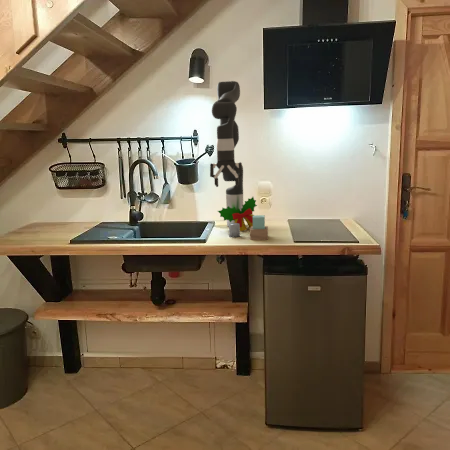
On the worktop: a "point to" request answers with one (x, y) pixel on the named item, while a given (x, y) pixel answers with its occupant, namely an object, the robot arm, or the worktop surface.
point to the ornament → (240, 214)
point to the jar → (234, 230)
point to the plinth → (259, 233)
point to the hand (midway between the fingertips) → (226, 186)
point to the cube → (258, 221)
